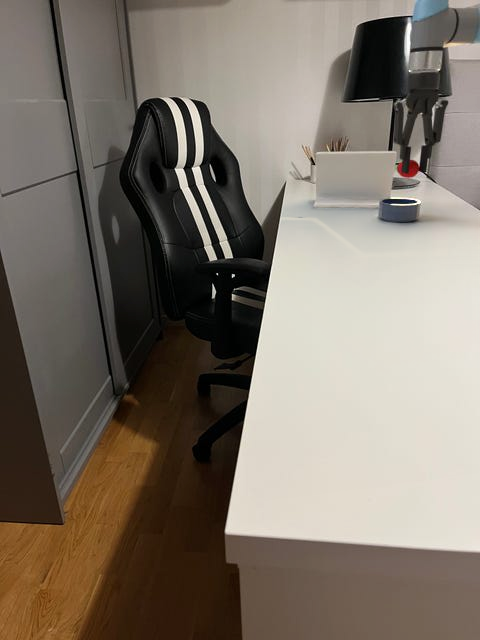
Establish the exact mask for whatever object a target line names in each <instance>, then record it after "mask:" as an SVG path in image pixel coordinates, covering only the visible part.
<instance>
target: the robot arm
mask: <svg viewBox="0 0 480 640" xmlns="http://www.w3.org/2000/svg"><path fill="white" fill-rule="evenodd" d="M449 2H450V1H449V0H416V2H415V3H414V6H413V12H412V17H411V30H410V33H409V42H410V45H409V54H408V55H409V56H408V64H407V65H408V67H407V71H408V72H410V73H409V74H408V75H407V77H406V88H405V89H406V90H405V91H406V93H405V95H404V97H403V99H401V100H399V101H395V102H393V104H392V105H393V109H394V126H393V143H394V144H396V145H398V146H399V147H400V148H399V159H400V160H402V161H401V162H402V170H401V172H402V173H405V174H409V164H410V160H411V154H412V153H411V152H412V146H410V141H411V137H412V133H413V130H414V127H415V123H416V120H417V118H418V116H419V115H421V118H422V127H423V139H424V144H422V145H421V147H420V156H419V157H420V158H419V172H418V173H423V174H425V173H427V171H428V162H429V159H432V153H433V146H435V145H436V144H437V143H440V142H441V140H442V133H443V126H444V121H445V120H444V119H445V113H446V109H447V108H448V105H449V100H447V99H442V98H440V95H439V92H438V91H439V89H440V80H441V74H440V72H439V71H440V70H442V63H443V53H444V48H451V47H457V46H462V45H469V46H472V45H479V44H480V3H478V4H474V5H471V6H467V7H450V6H449V5H450V4H449ZM434 107H435V108H436V109H435V112H434V114H433V108H434ZM405 108H407V113H406V120H405V124H404V119H405V117H404V116H405V110H404V109H405ZM433 115H434V119H433Z"/></svg>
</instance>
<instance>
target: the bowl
mask: <svg viewBox="0 0 480 640" xmlns="http://www.w3.org/2000/svg"><path fill="white" fill-rule="evenodd" d="M420 211H421V201H420V200H419V199H415V198H409V197H390V198H387V199H382V200H380V201H379V208H378V216H377V217H378V218H379V219H381V220H383V221H386V222H389V223H390V222H391V223H409V222H410V223H411V222H414V221H416V220H418V219H420V213H421V212H420Z"/></svg>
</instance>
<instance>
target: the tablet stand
mask: <svg viewBox="0 0 480 640" xmlns="http://www.w3.org/2000/svg"><path fill="white" fill-rule="evenodd" d="M397 155H398V153H397V151H395V150H380V151H379V150H376V151H375V150H372V151H371V150H370V151H364V150H363V151H362V150H361V151H317V152H316V153H315V200H314V202H313V207H314V208H345V209H346V208H348V209H349V208H350V209H352V208H353V209H354V208H356V209H357V208H358V209H361V208H362V209H379V201H380V200H382V199H387V198H391V195H392V194H391V193H392V187H393V181H394V177H395V176H394V175H395V169H396V163H397V157H398V156H397Z"/></svg>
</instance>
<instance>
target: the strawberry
mask: <svg viewBox="0 0 480 640" xmlns="http://www.w3.org/2000/svg"><path fill="white" fill-rule="evenodd" d="M419 165H420V163H418V162H417V161H416V160H414V159H410V164H409V174H405V173H402V172H401V170H402V161H400V162H399V163H398V164H397V166H396V171H397V173H398V174H399V176H400V177H402V178H407V179H411V178H414V177H417V175H418V174H419V173H420V172H419Z"/></svg>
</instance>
